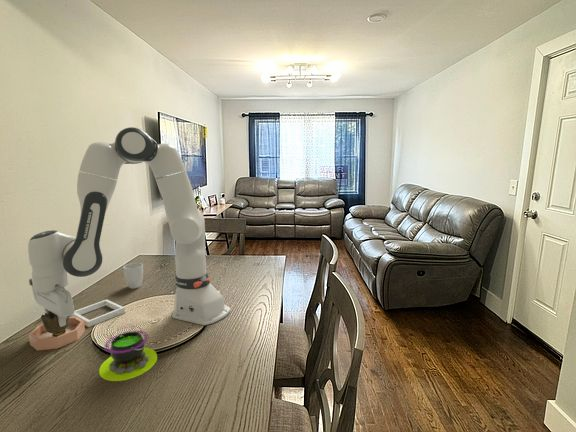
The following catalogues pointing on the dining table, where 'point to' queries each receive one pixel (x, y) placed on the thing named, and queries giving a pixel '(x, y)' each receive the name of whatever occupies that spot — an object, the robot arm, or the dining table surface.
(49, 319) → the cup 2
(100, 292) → the dining table surface
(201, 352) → the dining table surface
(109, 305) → the open white square frame
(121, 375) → the toy cauldron
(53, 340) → the bowl
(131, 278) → the cup
